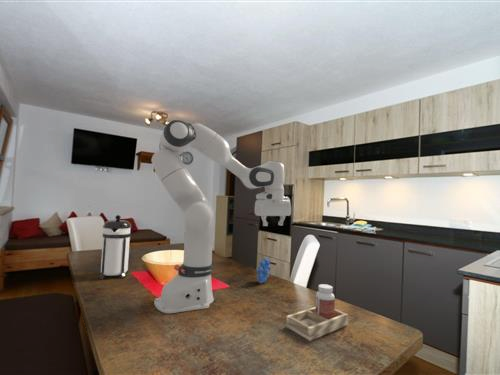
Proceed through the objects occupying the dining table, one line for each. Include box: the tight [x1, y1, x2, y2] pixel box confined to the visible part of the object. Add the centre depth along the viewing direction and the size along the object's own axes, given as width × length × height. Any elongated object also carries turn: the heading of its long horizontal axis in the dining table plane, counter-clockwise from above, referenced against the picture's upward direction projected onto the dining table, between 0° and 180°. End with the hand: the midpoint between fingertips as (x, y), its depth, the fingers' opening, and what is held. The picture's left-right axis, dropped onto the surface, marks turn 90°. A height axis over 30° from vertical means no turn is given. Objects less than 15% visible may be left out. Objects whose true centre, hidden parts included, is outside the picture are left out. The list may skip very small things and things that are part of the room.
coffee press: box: [98, 214, 132, 280], centre depth 133 cm, size 17×16×30 cm
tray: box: [285, 306, 349, 342], centre depth 87 cm, size 19×10×4 cm, turn 127°
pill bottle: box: [315, 283, 336, 319], centre depth 90 cm, size 6×6×11 cm
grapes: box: [256, 257, 272, 284], centre depth 131 cm, size 12×7×12 cm, turn 148°
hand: (273, 225), depth 122 cm, fingers open, 8 cm apart
